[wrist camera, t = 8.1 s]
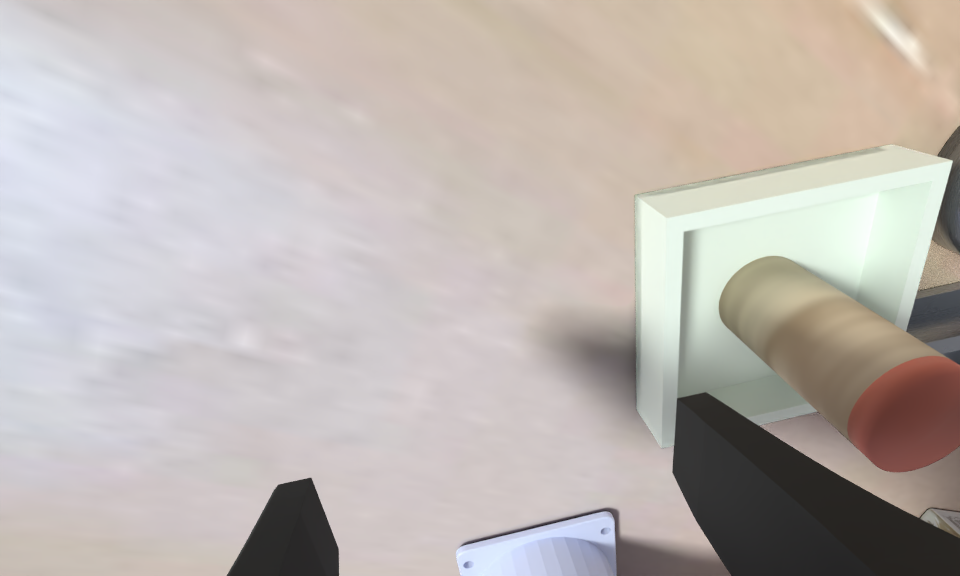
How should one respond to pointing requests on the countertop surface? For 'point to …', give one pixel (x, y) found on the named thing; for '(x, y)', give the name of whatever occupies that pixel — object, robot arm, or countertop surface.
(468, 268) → the countertop surface
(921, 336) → the block
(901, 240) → the tray
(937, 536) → the robot arm
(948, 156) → the grey metal round disc
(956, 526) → the coffee box
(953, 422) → the pin
